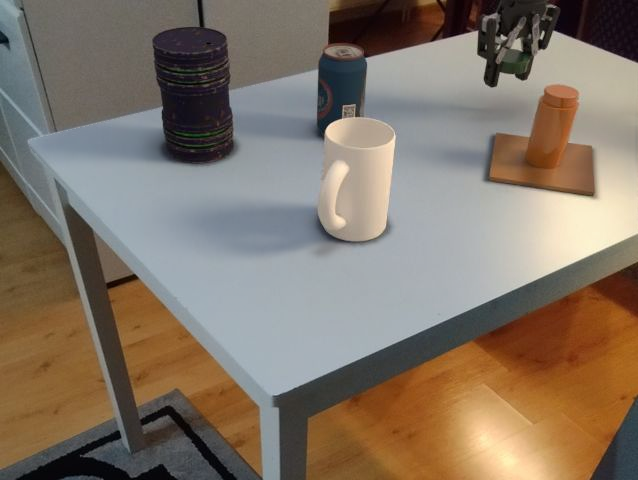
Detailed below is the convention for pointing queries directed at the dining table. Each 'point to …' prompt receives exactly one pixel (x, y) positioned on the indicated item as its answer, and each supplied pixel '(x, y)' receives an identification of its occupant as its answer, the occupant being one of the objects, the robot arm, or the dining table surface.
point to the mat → (566, 177)
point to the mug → (356, 178)
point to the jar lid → (514, 62)
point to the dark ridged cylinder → (194, 93)
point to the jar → (552, 126)
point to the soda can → (340, 84)
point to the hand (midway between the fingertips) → (505, 81)
